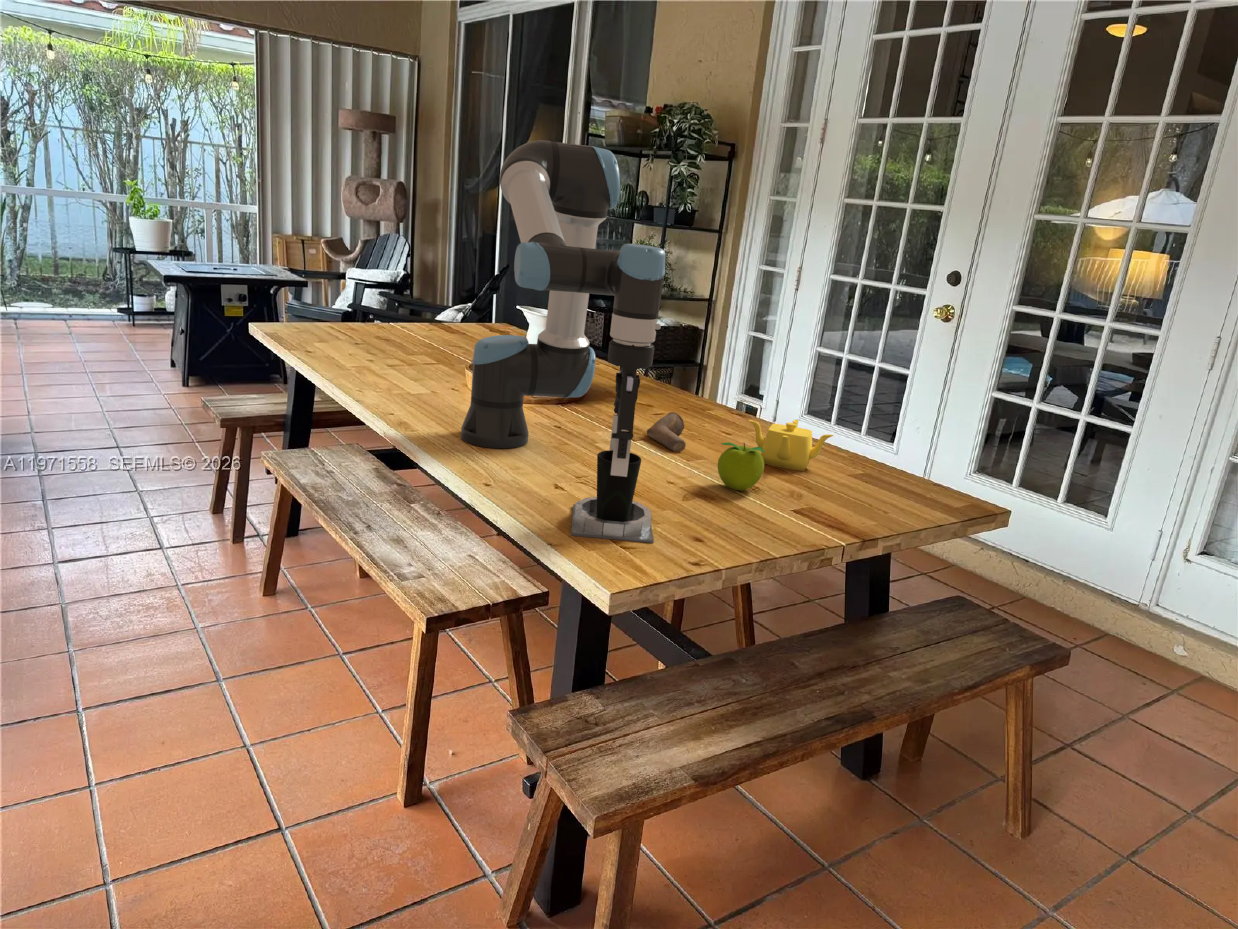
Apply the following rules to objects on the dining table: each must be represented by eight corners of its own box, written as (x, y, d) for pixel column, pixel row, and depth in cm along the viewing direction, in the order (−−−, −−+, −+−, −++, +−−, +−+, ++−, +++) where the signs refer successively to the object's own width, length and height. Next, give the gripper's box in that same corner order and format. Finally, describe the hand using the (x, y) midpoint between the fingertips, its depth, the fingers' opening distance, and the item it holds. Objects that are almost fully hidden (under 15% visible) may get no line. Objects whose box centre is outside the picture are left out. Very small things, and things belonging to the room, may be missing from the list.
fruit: (749, 499, 170) (757, 452, 167) (708, 487, 174) (714, 441, 171) (766, 489, 178) (774, 444, 175) (726, 478, 182) (733, 434, 179)
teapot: (828, 471, 196) (835, 431, 193) (779, 474, 190) (786, 432, 187) (789, 452, 208) (795, 414, 205) (742, 454, 202) (748, 415, 199)
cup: (591, 527, 145) (598, 461, 141) (589, 511, 152) (596, 448, 148) (635, 531, 145) (643, 465, 142) (631, 515, 153) (639, 452, 149)
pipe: (672, 434, 194) (709, 426, 198) (638, 415, 208) (673, 408, 212) (672, 460, 197) (708, 452, 201) (638, 439, 210) (673, 432, 215)
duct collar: (571, 535, 142) (572, 520, 141) (573, 506, 155) (574, 492, 154) (653, 543, 142) (655, 528, 142) (648, 513, 156) (650, 500, 155)
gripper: (660, 358, 127) (642, 489, 134) (650, 330, 151) (636, 442, 158) (610, 353, 127) (596, 484, 134) (609, 326, 151) (596, 438, 157)
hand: (617, 462), depth 146 cm, fingers open, 13 cm apart
